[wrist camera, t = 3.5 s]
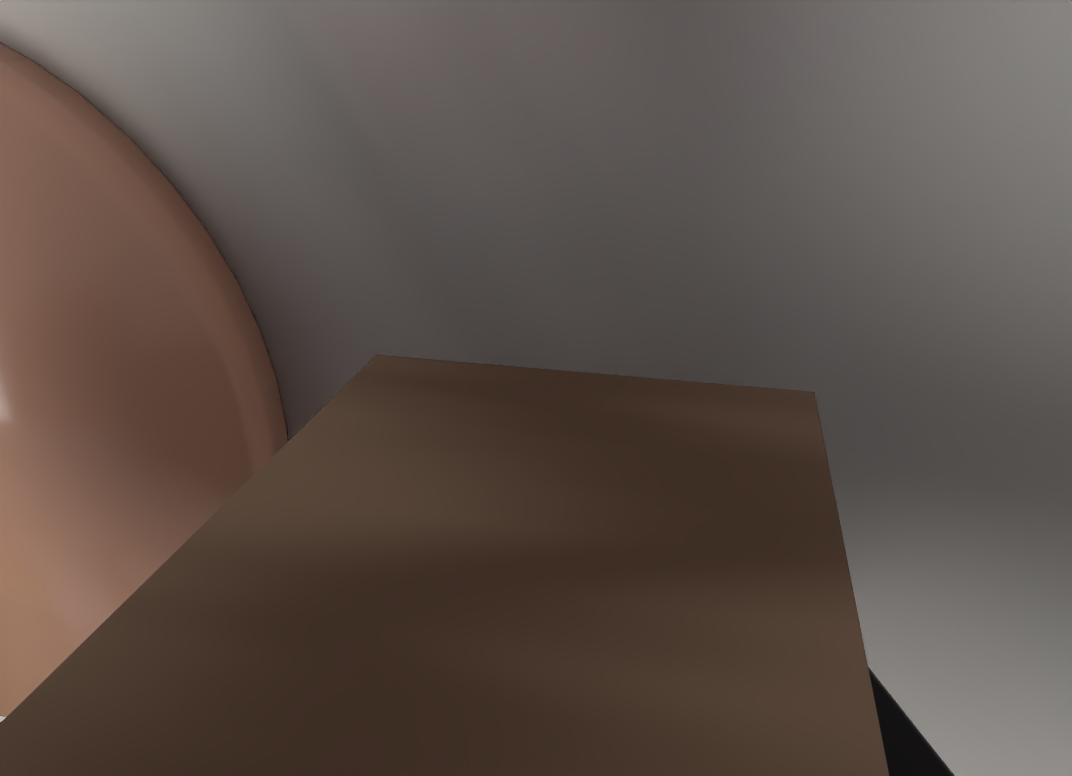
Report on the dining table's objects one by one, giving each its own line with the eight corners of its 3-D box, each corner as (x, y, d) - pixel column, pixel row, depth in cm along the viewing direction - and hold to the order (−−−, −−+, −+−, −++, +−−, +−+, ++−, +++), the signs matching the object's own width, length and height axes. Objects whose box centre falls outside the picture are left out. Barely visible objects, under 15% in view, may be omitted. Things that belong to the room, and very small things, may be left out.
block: (814, 392, 8) (953, 1090, 3) (762, 734, 10) (789, 1532, 5) (376, 355, 9) (-120, 839, 4) (404, 676, 11) (98, 1296, 6)
